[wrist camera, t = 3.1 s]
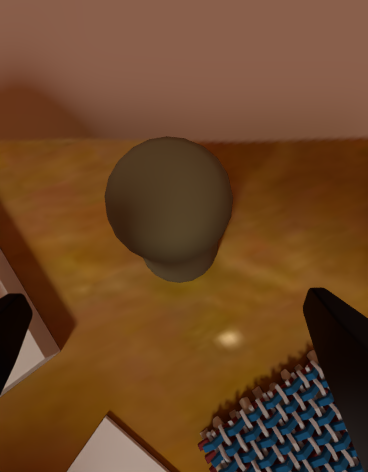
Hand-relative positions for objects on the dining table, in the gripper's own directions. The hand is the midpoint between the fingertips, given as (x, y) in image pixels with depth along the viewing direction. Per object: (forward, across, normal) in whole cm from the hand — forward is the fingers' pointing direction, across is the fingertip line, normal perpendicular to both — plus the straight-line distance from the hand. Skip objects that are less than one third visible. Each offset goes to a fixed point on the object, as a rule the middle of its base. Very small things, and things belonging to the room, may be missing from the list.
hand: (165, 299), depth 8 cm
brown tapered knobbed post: (+11, 0, +5) cm, 12 cm away
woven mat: (+1, -8, +16) cm, 18 cm away
